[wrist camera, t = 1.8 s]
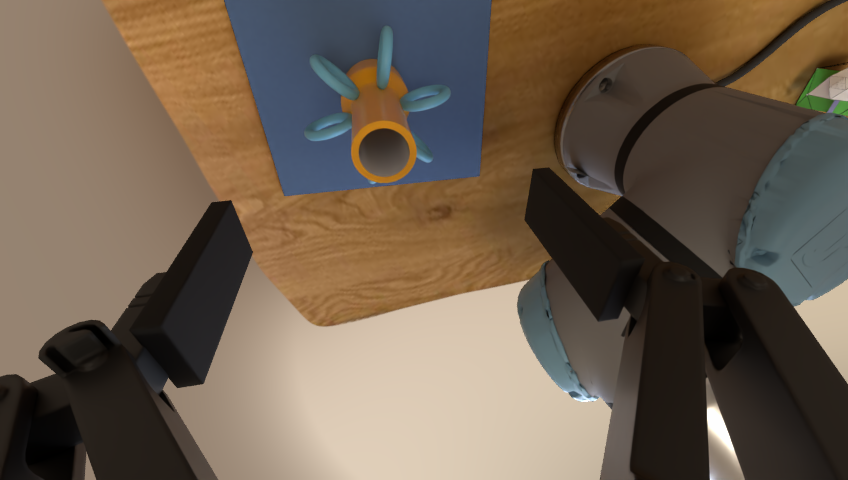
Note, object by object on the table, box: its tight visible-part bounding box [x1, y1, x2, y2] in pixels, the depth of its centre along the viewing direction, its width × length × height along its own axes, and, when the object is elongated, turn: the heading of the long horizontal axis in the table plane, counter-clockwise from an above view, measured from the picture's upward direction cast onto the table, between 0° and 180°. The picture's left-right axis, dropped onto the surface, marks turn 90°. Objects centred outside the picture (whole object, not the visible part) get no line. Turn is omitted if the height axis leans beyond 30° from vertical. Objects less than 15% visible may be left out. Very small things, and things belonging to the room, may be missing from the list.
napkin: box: [224, 0, 492, 196], centre depth 33 cm, size 22×20×1 cm
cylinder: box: [304, 25, 451, 184], centre depth 27 cm, size 12×10×15 cm
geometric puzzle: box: [796, 62, 848, 116], centre depth 38 cm, size 7×7×8 cm
